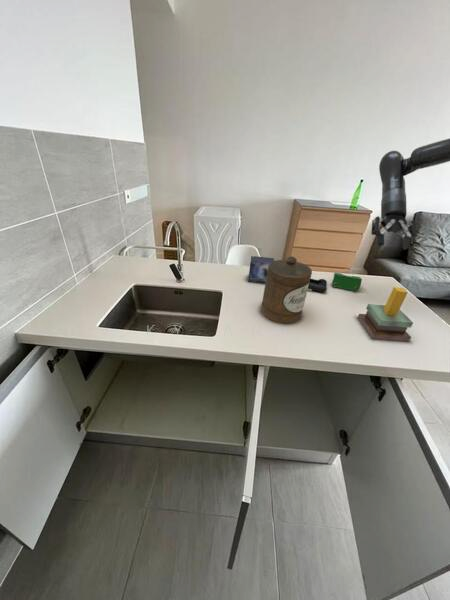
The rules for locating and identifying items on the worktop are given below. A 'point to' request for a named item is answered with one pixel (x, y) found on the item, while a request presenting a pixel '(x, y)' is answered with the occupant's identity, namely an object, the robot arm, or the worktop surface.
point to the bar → (395, 301)
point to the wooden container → (285, 290)
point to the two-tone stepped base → (385, 324)
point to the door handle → (317, 285)
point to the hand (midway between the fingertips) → (393, 247)
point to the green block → (346, 282)
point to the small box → (259, 269)
